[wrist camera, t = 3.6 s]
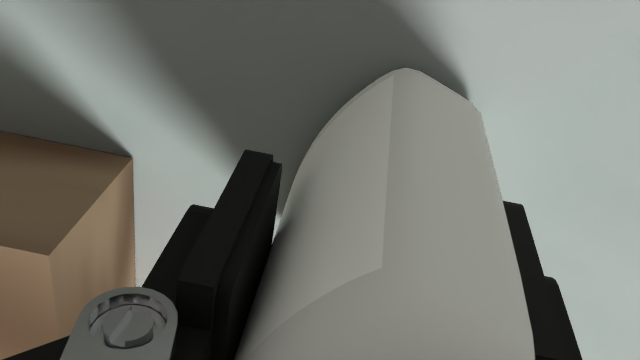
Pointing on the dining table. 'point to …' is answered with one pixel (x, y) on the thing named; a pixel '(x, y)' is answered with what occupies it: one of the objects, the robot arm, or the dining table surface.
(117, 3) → the dining table surface
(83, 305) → the socket block
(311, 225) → the eye dropper bottle
